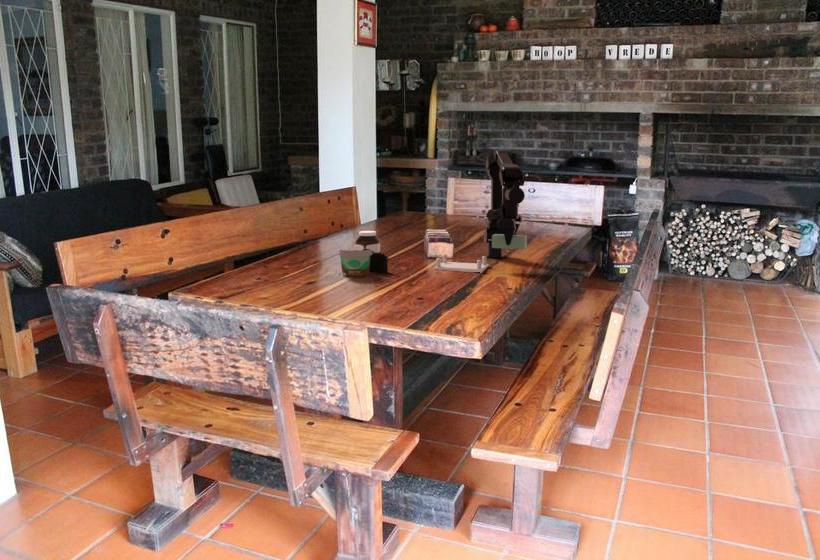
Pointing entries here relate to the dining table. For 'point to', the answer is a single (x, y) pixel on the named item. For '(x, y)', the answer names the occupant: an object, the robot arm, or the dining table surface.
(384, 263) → the film camera
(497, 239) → the green board
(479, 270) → the plate
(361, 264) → the food container
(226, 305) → the dining table surface
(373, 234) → the spread jar
